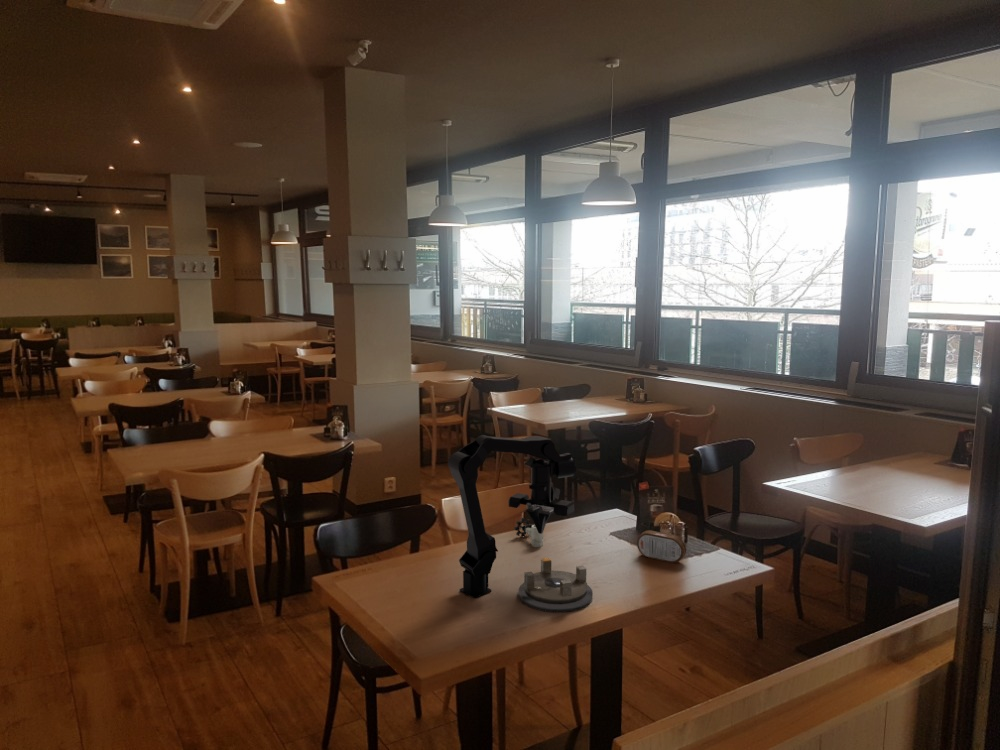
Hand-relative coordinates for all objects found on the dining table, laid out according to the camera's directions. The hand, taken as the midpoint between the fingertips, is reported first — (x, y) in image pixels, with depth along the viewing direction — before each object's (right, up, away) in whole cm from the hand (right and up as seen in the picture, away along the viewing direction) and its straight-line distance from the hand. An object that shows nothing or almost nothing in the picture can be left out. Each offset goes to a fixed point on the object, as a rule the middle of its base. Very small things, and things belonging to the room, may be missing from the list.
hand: (540, 533), depth 201 cm
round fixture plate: (+3, -13, -12) cm, 18 cm away
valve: (-1, -10, +30) cm, 31 cm away
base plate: (+3, -14, -12) cm, 19 cm away
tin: (+38, -12, +14) cm, 42 cm away
